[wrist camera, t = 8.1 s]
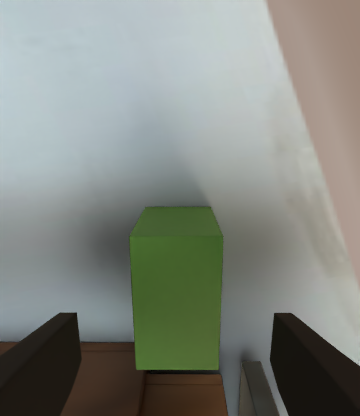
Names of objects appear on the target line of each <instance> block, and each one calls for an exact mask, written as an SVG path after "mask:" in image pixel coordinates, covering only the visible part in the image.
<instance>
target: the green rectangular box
mask: <svg viewBox="0 0 360 416" xmlns="http://www.w3.org/2000/svg"><path fill="white" fill-rule="evenodd" d="M129 246H130V265H131V285H132V304H133V323H134V342H135V361H136V370H218V369H219V346H220V318H221V290H222V263H223V235H222V232H221V230H220V228H219V225H218V223H217V221H216V218H215V216H214V213H213V211H212V209H211V207H145V209H144V211H143V212H142V214H141V216H140V218H139V220H138V221H137V223H136V225H135V227H134V229H133V230H132V232H131V234H130V236H129Z"/></svg>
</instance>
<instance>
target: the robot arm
mask: <svg viewBox="0 0 360 416" xmlns="http://www.w3.org/2000/svg"><path fill="white" fill-rule="evenodd" d="M81 361H82V357H81V348H80V339H79V329H78V320H77V313H59V314H57V315H56V316H54V317H53V318H51V319H50V320H49V321H47V322H46V323H45V324H43V325H42V326H40V327H39V328H38V329H36V330H35V331H34V332H32V333H31V334H30V335H28V336H27V337H26V338H24V339H23V340H21V341H20V342H19V343H17V344H16V345H15V346H13V347H12V348H10V349H9V350H8V351H6V352H5V353H3V354H2V355H0V416H60V415H61V413H62V410H63V408H64V406H65V404H66V402H67V399H68V397H69V395H70V393H71V390H72V388H73V385H74V382H75V379H76V376H77V373H78V370H79V367H80V364H81ZM270 362H271V366H272V370H273V373H274V377H275V380H276V383H277V387H278V390H279V393H280V395H281V398H282V400H283V402H284V405H285V407H286V410H287V412H288V415H289V416H360V366H359V365H357V364H356V363H355V362H353V361H352V360H351V359H349V358H348V357H347V356H345V355H344V354H343V353H341V352H340V351H339V350H337V349H336V348H335V347H334V346H332V345H331V344H330V343H328V342H327V341H326V340H325V339H323V338H322V337H321V336H320V335H318V334H317V333H316V332H315V331H313V330H312V329H311V328H310V327H309V326H307V325H306V324H305V323H304V322H302V321H301V320H300V319H299V318H297V317H296V316H295V315H293V314H292V313H274V320H273V331H272V342H271V353H270Z"/></svg>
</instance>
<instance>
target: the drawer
mask: <svg viewBox="0 0 360 416" xmlns="http://www.w3.org/2000/svg"><path fill="white" fill-rule="evenodd" d="M140 416H228V412H227V406H226V400H225V394H224V388H223V382H222V376H221V375H220V374H146V379H145V385H144V392H143V398H142V404H141V411H140ZM239 416H280V415H279V413H278V410H277V407H276V404H275V401H274V398H273V396H272V393H271V390H270V387H269V384H268V381H267V379H266V376H265V373H264V370H263V367H262V364H261V362H260V361H243V362H242V370H241V386H240V403H239Z"/></svg>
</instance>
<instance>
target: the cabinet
mask: <svg viewBox="0 0 360 416" xmlns="http://www.w3.org/2000/svg"><path fill="white" fill-rule="evenodd" d="M17 343H19V342H0V355H2V354H3V353H5V352H6V351H8V350H9V349H10V348H12V347H13V346H15V345H16V344H17ZM80 348H81V357H82V361H81V364H80V367H79V370H78V373H77V376H76V379H75V382H74V385H73V388H72V390H71V393H70V395H69V397H68V399H67V402H66V404H65V406H64V408H63V410H62V413H61V415H60V416H140V411H141V404H142V398H143V392H144V385H145V379H146V374H150V370H136V361H135V343H80Z"/></svg>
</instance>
